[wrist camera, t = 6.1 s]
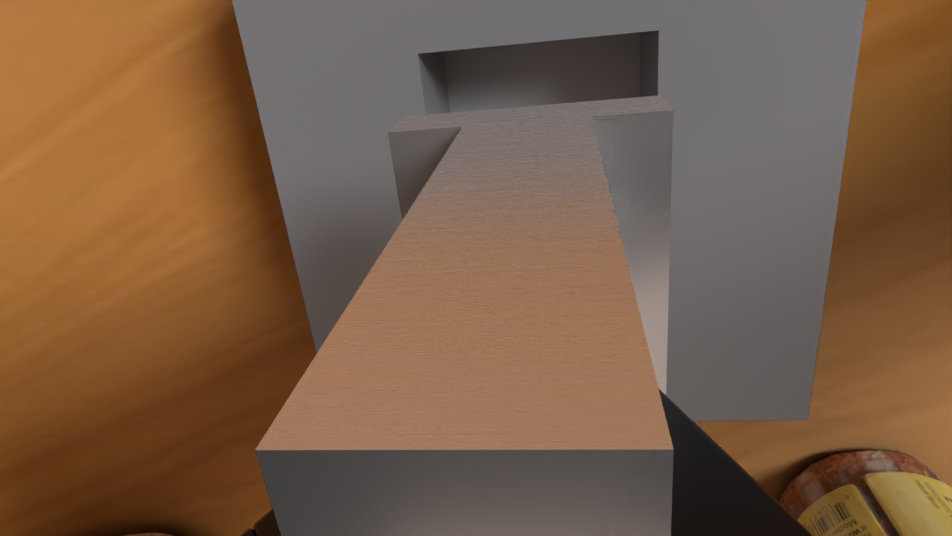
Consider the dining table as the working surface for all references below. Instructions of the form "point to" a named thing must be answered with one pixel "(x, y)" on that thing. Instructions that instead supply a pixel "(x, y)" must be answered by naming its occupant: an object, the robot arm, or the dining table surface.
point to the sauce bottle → (870, 496)
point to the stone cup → (149, 534)
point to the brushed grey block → (498, 339)
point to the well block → (578, 80)
